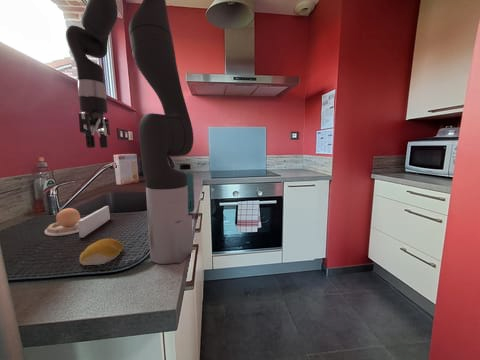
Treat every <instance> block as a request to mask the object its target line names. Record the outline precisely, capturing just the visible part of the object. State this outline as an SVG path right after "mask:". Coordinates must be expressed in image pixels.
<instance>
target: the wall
mask: <svg viewBox="0 0 480 360" xmlns="http://www.w3.org/2000/svg"><path fill="white" fill-rule="evenodd" d="M110 215H111V214H110V206H109V205H105V206H103V207H102V208H100V209H97V210H95V211H93V212H92V213H90V214H88V215H87V216H85V217H82V218H83V219H81V220H79V221H78V228H79V232H78V236H79V238H85V237H86V236H87V235H89V234H90V233H92V232H93V231H95V230H97V229H98V228H99V227H101V226H102V225H104V224H105V223H107V222H108V221H109V220H110V219H111V217H110Z"/></svg>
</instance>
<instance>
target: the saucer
mask: <svg viewBox="0 0 480 360" xmlns="http://www.w3.org/2000/svg"><path fill="white" fill-rule="evenodd" d="M83 218H84V217H80V220H81V219H83ZM77 233H79V228H78V223H77V224H75V225H74V226H71V227H63V226H60V225H59V224H58V223H57V221H56V222H54V223H51V224H49V225H48V226H47V227H46V229H45V230H44V234H45V235H47V236H49V237H50V236H51V237H58V236H68V235H72V234H77Z"/></svg>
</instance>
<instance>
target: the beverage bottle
mask: <svg viewBox="0 0 480 360" xmlns="http://www.w3.org/2000/svg"><path fill="white" fill-rule="evenodd" d="M191 169H192V167H191V163H180V164H179V171H183V172H184V173H185V174H186V175H187V186H188V214H190V213H193V212H194V211H195V188H194V187H195V186H194V185H195V184H194V183H195V182H194V180H195V179H194V174H193V173H191V171H190V172H188V171H187V170H191Z"/></svg>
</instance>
